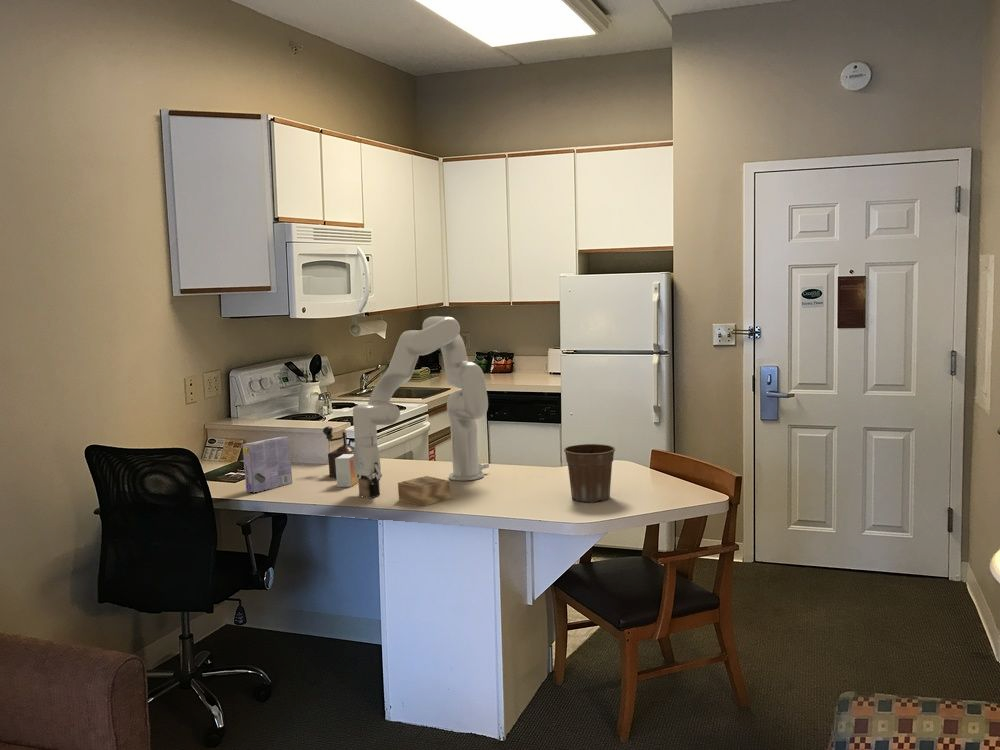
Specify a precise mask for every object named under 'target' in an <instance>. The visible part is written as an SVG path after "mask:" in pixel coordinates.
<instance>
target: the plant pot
mask: <svg viewBox="0 0 1000 750" xmlns="http://www.w3.org/2000/svg"><path fill="white" fill-rule="evenodd" d="M563 451H564V454H565V459H566V463H567V467H568V476H569V477H568V478H569V483H570V484H569V485H570V486H569V487H570V495H571V499H572V500H575V501H577V502H582V503H598V501H600V502H605V501H607V500H609V499H610V498H611V486H612V485H611V483H612V471H613V470H612V468H613V462H614V455H615V452H616V447H615V446H613V445H609V444H599V443H590V444H589V443H585V444H575V445H570V446H566V447H564V448H563Z"/></svg>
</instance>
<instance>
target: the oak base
mask: <svg viewBox="0 0 1000 750" xmlns="http://www.w3.org/2000/svg"><path fill="white" fill-rule="evenodd" d="M397 488H398V490H397V492H398V501H399V502H404V503H408V504H411V505H416V506H418V507H423V505H424V506H426V505H427V504H428V505H431V504H434V503H438V502H442V501H446V500H450V499H451V493H450V492H451V489H450V480H446V479H444V478H443V479H442V478H438V477H433V476H429V475H428V476H427V475H425V476H424V475H423V476H421V477H417V478H412V479H407V480H404V481H400V482H397Z"/></svg>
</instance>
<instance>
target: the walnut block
mask: <svg viewBox="0 0 1000 750" xmlns="http://www.w3.org/2000/svg"><path fill="white" fill-rule="evenodd" d="M374 477H375V476H374ZM374 477H372V478H373V479H374ZM357 484H358V494H359V495H358V496H359V497H360V496H363V497H362V498H364V497H367V498H366V499H370V498H369V497H371V498H374V497H373V496H370V487H369V485H370V479H369V477H365V478H360V479H358V483H357ZM378 490H379V495H380V496H381V492H380V491H381V490H380V482H379V483H378ZM376 497H378V496H377V495H376Z"/></svg>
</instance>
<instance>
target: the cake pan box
mask: <svg viewBox="0 0 1000 750" xmlns="http://www.w3.org/2000/svg"><path fill="white" fill-rule="evenodd" d="M242 454H243V455H242V456H243V467H244V468H243V469H244V478H245V479H244V480H245V491H246V492H247V493H250V492H253V493H252V494H256V493H255V492H257V493H260V492H259V491H261V492H265V491H268V489H269V490H273V489H277V488H279V486H280V487H282V486H283V485H284V486H287V485H291V484H290V483H292V484H293V473H292V464H291V463H292V461H291V448H290V437H289V436H279V437H273V438H268V439H262V440H258V441H257V440H256V441H253V442H247V443H242ZM276 487H277V488H276ZM272 488H273V489H272ZM264 490H265V491H264Z"/></svg>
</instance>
